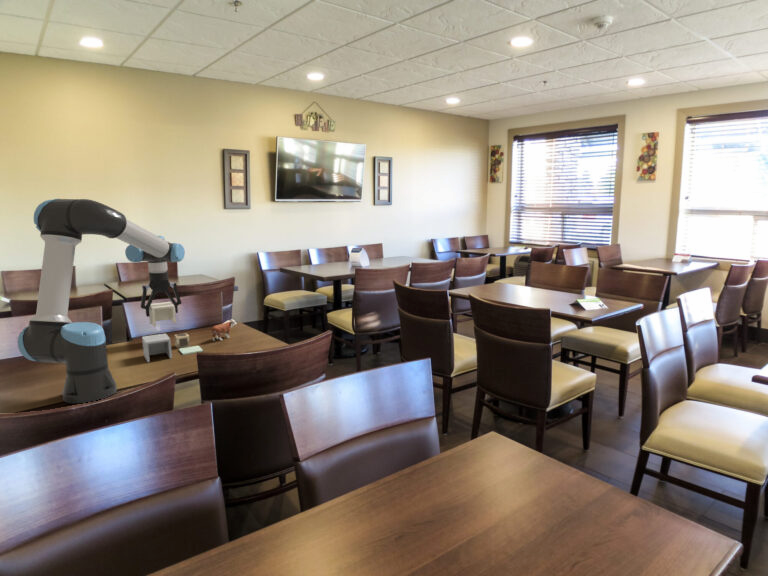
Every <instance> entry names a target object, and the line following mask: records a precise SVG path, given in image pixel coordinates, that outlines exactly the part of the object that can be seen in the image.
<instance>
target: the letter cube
mask: <svg viewBox="0 0 768 576" xmlns="http://www.w3.org/2000/svg"><path fill="white" fill-rule="evenodd" d="M190 343H191V342H190V335H189V334H188V332H183V333H179V334H174V345H175V346H174V347H176V348H177V349H180V348H186V347H191V345H190Z"/></svg>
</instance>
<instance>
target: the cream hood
mask: <svg viewBox="0 0 768 576" xmlns="http://www.w3.org/2000/svg"><path fill="white" fill-rule="evenodd" d="M150 309H151V315H152V324H151V325H152V326H153V327H156V326H157V325H156V323H157V322H160V321H168V320H170V321H171V322H172V323H173V324H174V325H175V324H177V316H176V317H175V314H176V313H175V306H174V304H173V303H172V301H164V302H154V303H151V305H150Z"/></svg>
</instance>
